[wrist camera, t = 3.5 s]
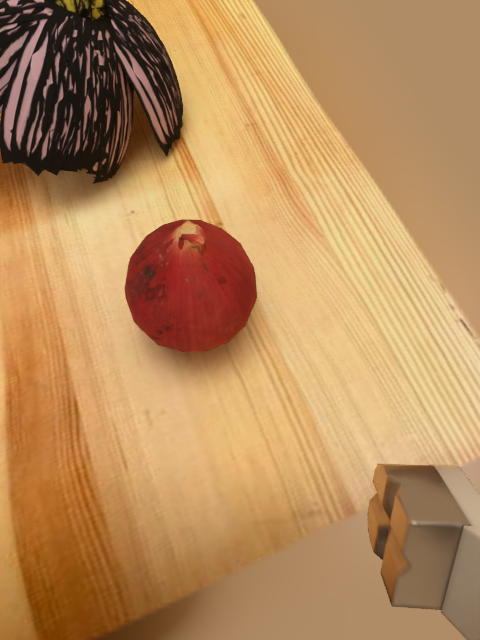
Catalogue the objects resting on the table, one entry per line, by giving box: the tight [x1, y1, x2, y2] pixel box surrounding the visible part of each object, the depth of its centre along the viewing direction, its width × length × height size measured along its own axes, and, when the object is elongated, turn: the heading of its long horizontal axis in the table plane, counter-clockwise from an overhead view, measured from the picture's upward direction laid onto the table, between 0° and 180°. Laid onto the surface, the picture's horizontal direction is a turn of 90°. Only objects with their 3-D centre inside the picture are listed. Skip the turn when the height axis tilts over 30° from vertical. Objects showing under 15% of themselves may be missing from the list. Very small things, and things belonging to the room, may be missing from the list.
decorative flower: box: [0, 0, 183, 184], centre depth 26 cm, size 15×12×15 cm
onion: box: [125, 220, 257, 352], centre depth 20 cm, size 6×6×8 cm
